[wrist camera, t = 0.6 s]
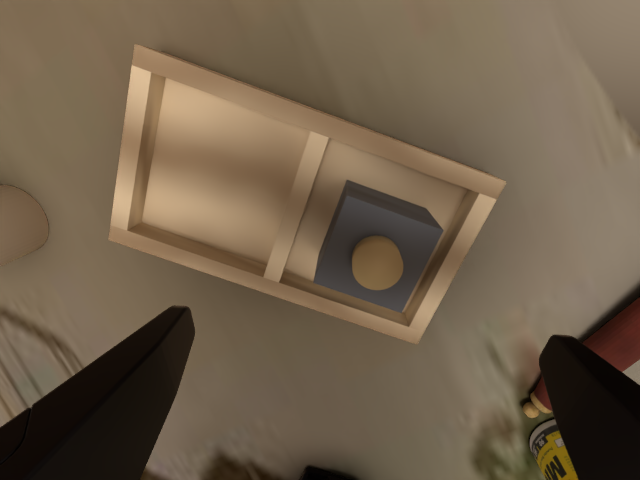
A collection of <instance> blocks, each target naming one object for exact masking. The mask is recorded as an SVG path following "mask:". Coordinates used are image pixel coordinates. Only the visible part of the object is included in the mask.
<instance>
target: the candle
mask: <svg viewBox="0 0 640 480" xmlns="http://www.w3.org/2000/svg"><path fill="white" fill-rule="evenodd" d="M48 233H49V226H48V221H47V217H46V215H45V213H44V211H43V209H42V208H41V206H40V205H39V204H38V203H37V201H36V200H35V199H34V198H33V197H31V196H30V195H29V194H28V193H26V192H25V191H23V190H21V189H19V188H16V187H13V186H9V185H0V266H3V265H5V264H7V263H9V262H11V261H13V260H16V259H18V258H20V257H22V256H24V255H26V254H29V253H31V252H33V251H35V250H37V249H39V248H41V247H42V246H43V245H44V243H45V242H46V240H47V238H48Z"/></svg>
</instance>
